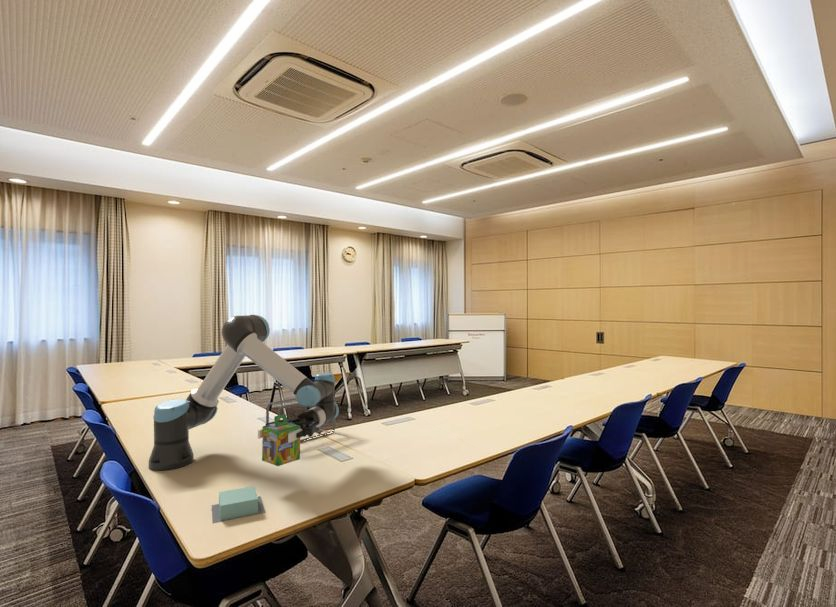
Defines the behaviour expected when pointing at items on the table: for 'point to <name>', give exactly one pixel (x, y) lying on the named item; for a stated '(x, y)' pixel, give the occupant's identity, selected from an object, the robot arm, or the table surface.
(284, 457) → the chalk box
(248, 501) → the pedestal
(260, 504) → the mat
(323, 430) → the newton's cradle
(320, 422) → the robot arm
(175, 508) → the table surface
